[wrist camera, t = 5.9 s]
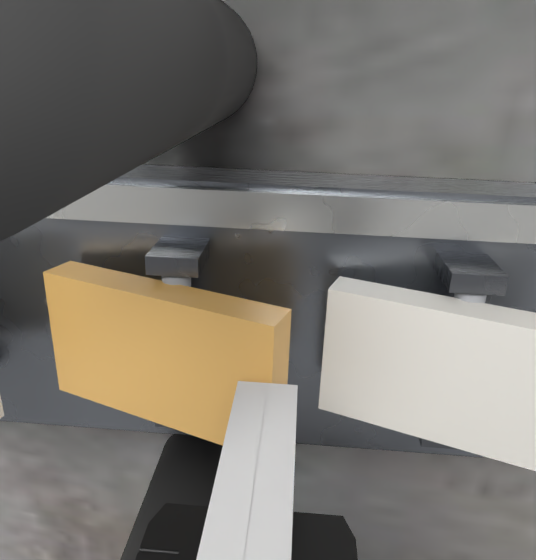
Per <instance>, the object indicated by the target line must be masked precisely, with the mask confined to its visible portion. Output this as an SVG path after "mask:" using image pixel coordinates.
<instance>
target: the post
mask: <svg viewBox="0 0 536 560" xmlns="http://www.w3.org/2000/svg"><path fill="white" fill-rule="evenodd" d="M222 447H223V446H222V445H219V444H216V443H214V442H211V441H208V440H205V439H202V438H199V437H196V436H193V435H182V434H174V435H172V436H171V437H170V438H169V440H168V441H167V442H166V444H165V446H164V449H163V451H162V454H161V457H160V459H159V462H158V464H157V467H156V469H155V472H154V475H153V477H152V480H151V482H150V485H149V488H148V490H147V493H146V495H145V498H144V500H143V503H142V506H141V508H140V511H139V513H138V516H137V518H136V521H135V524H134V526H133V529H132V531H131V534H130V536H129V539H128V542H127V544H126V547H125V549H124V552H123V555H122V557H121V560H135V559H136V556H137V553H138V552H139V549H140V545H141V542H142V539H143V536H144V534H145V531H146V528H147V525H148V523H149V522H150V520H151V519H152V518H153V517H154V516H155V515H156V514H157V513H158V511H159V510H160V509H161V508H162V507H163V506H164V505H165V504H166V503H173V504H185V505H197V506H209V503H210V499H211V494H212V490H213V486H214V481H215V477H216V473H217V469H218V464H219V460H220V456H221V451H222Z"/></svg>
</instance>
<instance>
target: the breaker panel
mask: <svg viewBox="0 0 536 560" xmlns="http://www.w3.org/2000/svg"><path fill="white" fill-rule="evenodd" d="M69 261H75V262H79V263H84V264H88V265H93V266H97V267H102V268H106V269H111V270H116V271H120V272H125V273H129V274H134V275H138V276H143V277H148V278H152V279H157V280H161V281H162V277H161V276H175V277H191V287H193V288H198V289H202V290H207V291H211V292H216V293H221V294H225V295H230V296H234V297H239V298H243V299H248V300H252V301H257V302H262V303H266V304H271V305H275V306H280V307H284V308H289V309H292V311H291V329H290V347H289V365H288V383H287V384H289V385H298V389H297V417H296V443H300V444H313V445H326V446H339V447H352V448H365V449H378V450H391V451H404V452H418V453H431V454H444V455H457V456H470V457H483V458H488V457H484V456H481V455H477V454H474V453H471V452H467V451H464V450H460V449H457V448H453V447H450V446H446V445H443V444H439V443H436V442H433V441H429V440H426V439H422V438H419V437H415V436H412V435H408V434H405V433H402V432H398V431H395V430H391V429H388V428H384V427H381V426H377V425H374V424H371V423H367V422H364V421H360V420H357V419H353V418H350V417H346V416H343V415H340V414H336V413H333V412H329V411H326V410H322V409H319V408H318V406H319V394H320V382H321V370H322V358H323V346H324V334H325V322H326V310H327V298H328V289H329V287H330V286H331V285H332V284H333V283H334V282H335V281H336V280H337V279H338V278H339V276H342V277H347V278H352V279H358V280H363V281H368V282H374V283H379V284H384V285H390V286H395V287H401V288H406V289H411V290H417V291H422V292H427V293H433V294H438V295H443V296H449V297H454V293H465V294H482V295H487V297H486V301H485V303H486V304H492V305H497V306H502V307H508V308H513V309H518V310H524V311H529V312H534V313H536V183H533V182H511V181H490V180H468V179H446V178H425V177H403V176H381V175H360V174H338V173H317V172H295V171H273V170H252V169H230V168H208V167H187V166H165V165H144V164H142V165H140V166H138V167H137V168H135V169H133V170H131V171H129V172H128V173H126V174H124V175H122V176H120V177H119V178H117V179H115V180H113V181H111V182H109V183H108V184H106V185H104V186H102V187H100V188H99V189H97V190H95V191H93V192H91V193H89V194H88V195H86V196H84V197H82V198H80V199H79V200H77V201H75V202H73V203H71V204H70V205H68V206H66V207H64V208H62V209H60V210H59V211H57V212H55V213H53V214H51V215H50V216H48V217H46V218H44V219H42V220H41V221H39V222H37V223H35V224H33V225H31V226H30V227H28V228H26V229H24V230H22V231H21V232H19V233H17V234H15V235H13V236H11V237H9V238H6V239H4V240H2V241H0V396H1V401H2V406H3V411H4V416H3V417H2V418H0V421H12V422H25V423H38V424H51V425H64V426H77V427H90V428H103V429H116V430H129V431H143V432H156V433H169V434H182V435H190V434H187V433H184V432H181V431H179V430H176V429H173V428H170V427H167V426H164V425H161V424H158V423H155V422H152V421H149V420H147V419H144V418H141V417H138V416H135V415H132V414H129V413H126V412H123V411H120V410H117V409H114V408H112V407H109V406H106V405H103V404H100V403H97V402H94V401H91V400H88V399H85V398H82V397H80V396H77V395H74V394H71V393H68V392H65V391H62V390H59V383H58V376H57V369H56V362H55V355H54V347H53V340H52V333H51V326H50V319H49V312H48V305H47V298H46V291H45V284H44V277H43V272H44V271H46V270H49V269H51V268H54V267H56V266H59V265H61V264H64V263H66V262H69Z"/></svg>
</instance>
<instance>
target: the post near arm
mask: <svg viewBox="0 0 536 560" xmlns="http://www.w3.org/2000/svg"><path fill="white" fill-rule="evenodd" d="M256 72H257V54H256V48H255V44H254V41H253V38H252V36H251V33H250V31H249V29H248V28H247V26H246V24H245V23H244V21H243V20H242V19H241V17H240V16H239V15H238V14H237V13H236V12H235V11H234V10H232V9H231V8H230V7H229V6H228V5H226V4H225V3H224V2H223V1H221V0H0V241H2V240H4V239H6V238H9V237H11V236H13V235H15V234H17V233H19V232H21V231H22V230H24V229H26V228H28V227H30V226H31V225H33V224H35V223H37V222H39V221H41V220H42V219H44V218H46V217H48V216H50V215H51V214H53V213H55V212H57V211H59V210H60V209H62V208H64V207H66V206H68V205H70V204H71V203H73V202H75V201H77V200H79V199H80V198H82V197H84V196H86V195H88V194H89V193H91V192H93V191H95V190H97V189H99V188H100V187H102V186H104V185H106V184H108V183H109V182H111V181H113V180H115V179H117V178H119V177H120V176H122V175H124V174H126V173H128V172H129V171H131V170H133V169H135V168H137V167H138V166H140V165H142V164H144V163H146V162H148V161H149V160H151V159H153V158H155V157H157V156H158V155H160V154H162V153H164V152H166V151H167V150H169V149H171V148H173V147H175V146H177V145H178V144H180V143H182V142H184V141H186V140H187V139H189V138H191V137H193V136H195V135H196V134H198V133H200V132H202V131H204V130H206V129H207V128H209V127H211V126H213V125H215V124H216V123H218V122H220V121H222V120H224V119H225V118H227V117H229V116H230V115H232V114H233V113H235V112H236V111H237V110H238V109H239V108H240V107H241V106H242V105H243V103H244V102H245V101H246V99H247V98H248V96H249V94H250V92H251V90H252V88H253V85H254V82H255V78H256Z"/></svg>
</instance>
